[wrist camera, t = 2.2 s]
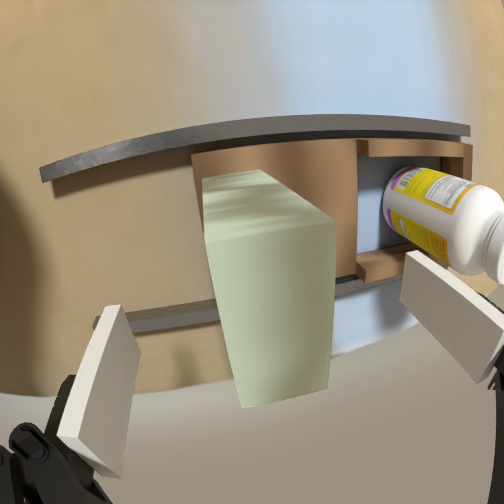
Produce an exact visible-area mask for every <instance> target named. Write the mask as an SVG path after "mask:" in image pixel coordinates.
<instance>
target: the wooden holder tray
mask: <svg viewBox="0 0 504 504" xmlns="http://www.w3.org/2000/svg"><path fill="white" fill-rule="evenodd" d="M472 151H473V145H470V144H465V143H460V142H454V141H446V140H432V139H413V138H335V139H314V140H299V141H287V142H276V143H266V144H256V145H248V146H240V147H232V148H225V149H218V150H212V151H205V152H199V153H193V154H191V159H192V166H193V172H194V179H195V185H196V191H197V197H198V203H199V209H200V215H201V220H202V226H203V231H204V238H205V247H206V252H207V257H208V262H209V267H210V272H211V277H212V282H213V287H214V292H215V297H216V302H217V306H218V311H219V316H220V320H221V325H222V329H223V334H224V338H225V343H226V347H227V351H228V355H229V360H230V364H231V368H232V372H233V376H234V380H235V384H236V388H237V392H238V396H239V400H240V404H241V408H248V407H253V406H258V405H263V404H267V403H272V402H277V401H281V400H286V399H290V398H294V397H298V396H302V395H305V394H309V393H313V392H317V391H320V390H324V389H327V384H328V376H329V367H330V356H331V345H332V332H333V317H334V299H335V278H337V277H342V276H346V275H351V274H356V275H357V276H358V277H359V278H360V279H361V280H362V281H363V282H364V283H369V282H373V281H377V280H380V279H384V278H388V277H392V276H396V275H399V274H403V271H404V264H405V256H406V253H407V252H412V251H416V250H418V251H419V252H421V253H422V254H424V255H425V256H427V257H428V258H429V259H431V260H432V261H434V262H435V263H437V264H438V263H442V261H441V260H439V259H438V258H436V257H435V256H433V255H432V254H430V253H429V252H427V251H425V250H424V249H422V248H421V247H419V246H418V245H416V244H414V243H413V242H412V243H408V244H403V245H398V246H393V247H389V248H384V249H379V250H374V251H370V252H365V253H360V254H356V250H357V218H358V183H357V155H362V156H366V157H387V156H442V173H446V174H449V175H452V176H456V177H459V178H462V179H465V180H468V181H471V178H472Z"/></svg>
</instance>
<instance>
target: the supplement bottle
mask: <svg viewBox="0 0 504 504" xmlns="http://www.w3.org/2000/svg"><path fill="white" fill-rule="evenodd" d="M383 213H384V216H385V219H386V221H387V223H388V225H389V226H390V227H391V228H392V229H393V230H394V231H395V232H397V233H398V234H400V235H401V236H403V237H405V238H406V239H408V240H410V241H411V242H413V243H414V244H416V245H418V246H419V247H421V248H422V249H424V250H425V251H427V252H429V253H430V254H432V255H433V256H435V257H436V258H438V259H439V260H441V261H442V262H444V263H445V264H447V265H448V266H450V267H451V268H453V269H454V270H455V271H457V272H459V273H460V274H462V275H465V276H473V275H477V274H480V273H482V272H483V271H485V272H486V273H487V275H488V276H489V277H490V278H491V279H493V280H494V281H496V282H497V283H499V284H501V285H503V284H504V203H503V201H502V199H501V197H500V196H499V195H498V194H497V193H496V192H495V191H494V190H492V189H490V188H488V187H486V186H483V185H480V184H477V183H474V182H471V181H468V180H465V179H462V178H459V177H456V176H452V175H449V174H446V173H442V172H439V171H435V170H431V169H428V168H424V167H420V166H406V167H403V168H401V169H400V170H398V171H397V172H396V173H395V174H394V175H393V176H392V177H391V178H390V180H389V182H388V184H387V186H386V188H385V191H384V196H383Z"/></svg>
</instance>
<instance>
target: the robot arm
mask: <svg viewBox="0 0 504 504" xmlns="http://www.w3.org/2000/svg"><path fill="white" fill-rule="evenodd" d="M399 301H400V302H401V303H402V304H403V305H404V306H405V307H406V308H407V309H408V310H409V311H410V312H411V313H412V314H413V315H414V316H415V317H416V318H417V319H418V320H419V321H420V322H421V323H422V324H423V326H424V327H425V328H426V329H427V330H428V331H429V332H430V333H431V334H432V335H433V336H434V337H435V338H436V339H437V340H438V341H439V342H440V343H441V344H442V346H443V347H445V349H446V350H447V351H448V352H449V353H450V354H451V355H452V356H453V357H454V359H455V360H456V361H457V362H458V363H459V364H460V365H461V366H462V368H463V369H464V370H465V371H466V372H467V373H468V374H469V375H470V377H471V378H472V379H473V380H474V381H475V383H476V384H478V383H480V382H481V381H483V380H484V379H486V378H487V377H488V376H489V374H490V372H491V371H492V369H493V367H494V366H495V367H496V368H497V371H496V373H495V375H494V377H493V378H492V380H491V382H490V383H489V385H488V389H490V388H491V386H492V385H493V383H494V382H495V386H494V387H493V390H496V442H495V443H496V444H495V456H494V467H493V474H492V481H491V487H490V493H489V498H488V503H487V504H504V311H502V310H501V309H500V308H499V307H496V305H495V304H494V303H493V302H490V300H489V299H488V298H486V297H485V296H484V295H482V294H480V293H478V292H476V291H474V290H472V289H471V288H470V287H468V286H467V285H466V284H464V283H463V282H462V281H460V280H459V279H458V278H456V277H455V276H454V275H452V274H451V273H449V272H448V271H447V270H445V269H444V268H442V267H441V266H440V265H438V264H437V263H435V262H434V261H432V260H431V259H429V258H428V257H427V256H425V255H424V254H422V253H421V252H419V251H418V250H416V251H412V252H407V253H406V256H405V264H404V271H403V278H402V285H401V291H400V297H399ZM140 355H141V351H140V349H139V347H138V344H137V342H136V340H135V337H134V335H133V333H132V330H131V328H130V326H129V323H128V321H127V318H126V316H125V313H124V311H123V308H122V306H121V304H119V305H112V306H106V307H105V309H104V311H103V313H102V315H101V317H100V320H99V322H98V324H97V326H96V329H95V331H94V333H93V336H92V338H91V340H90V343H89V345H88V347H87V350H86V352H85V355H84V357H83V360H82V362H81V365H80V367H79V370H78V373H77V375H69V376H68V377H67V378H66V380H65V381H64V382H63V383H62V384H61V387H60V389H59V392H58V395H57V396H58V397H56V400H55V403H54V406H53V408H52V411H51V414H50V417H49V420H48V423H47V426H46V429H45V432H44V434H43V433H42V432H41V430H40V429H39V428H38V427H37V426H36V425H34V424H32V423H26V422H25V423H22V424H19V425H18V426H17V427H16V428H14V430H13V431H12V433H11V434H10V438H9V448H10V449H11V450H12V451H14V452H15V453H10V452H9V451H8V450H7V449H6V448H5V447H3V446H1V445H0V504H113V503H112V502H111V501H110V499H109V498H108V496H107V495H106V494H105V493H104V491H103V490H102V488H101V487H100V485H99V484H98V482H97V481H96V480H95V479H94V478H93V474H94V470H95V471H96V472H97V473H99V474H100V475H101V476H103V477H110V478H121V479H122V474H123V462H124V454H125V446H126V437H127V430H128V423H129V416H130V410H131V403H132V397H133V391H134V386H135V380H136V375H137V370H138V365H139V360H140ZM24 498H25V502H24Z"/></svg>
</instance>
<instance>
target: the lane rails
mask: <svg viewBox="0 0 504 504" xmlns="http://www.w3.org/2000/svg"><path fill="white" fill-rule="evenodd" d="M325 130H395V131H415V132H429V133H441V134H451V135H459V136H467V137H470V125H465V124H459V123H452V122H445V121H438V120H430V119H421V118H411V117H399V116H384V115H360V114H317V115H292V116H276V117H264V118H253V119H243V120H235V121H227V122H219V123H212V124H205V125H199V126H193V127H187V128H182V129H176V130H171V131H166V132H161V133H156V134H152V135H147V136H143V137H138V138H134V139H130V140H126V141H122V142H118V143H115V144H111V145H107V146H104V147H100V148H97V149H93V150H90V151H87V152H84V153H80V154H77V155H74V156H71V157H68V158H65V159H62V160H59V161H56V162H54V163H51V164H48V165H45V166H43V167H40V168H39V169H40V174H41V179H42V183H44V182H47V181H50V180H53V179H56V178H59V177H62V176H65V175H68V174H71V173H74V172H78V171H81V170H84V169H88V168H91V167H95V166H98V165H102V164H106V163H109V162H113V161H117V160H121V159H125V158H129V157H133V156H137V155H142V154H146V153H151V152H155V151H160V150H165V149H170V148H175V147H181V146H186V145H192V144H198V143H204V142H210V141H217V140H224V139H231V138H239V137H247V136H256V135H266V134H277V133H289V132H304V131H325ZM438 265H440V266H441V267H444V266H447V264H445V263H444V262H442V263H438ZM402 278H403V274H399V275H396V276H392V277H388V278H384V279H380V280H377V281H373V282H369V283H364V282H363V281H362V280H361V279H360V278H359V277H358V276H357V275H356V274H351V275H346V276H342V277H337V278H335V296H339V295H343V294H347V293H351V292H355V291H359V290H363V289H367V288H370V287H374V286H378V285H382V284H385V283H389V282H393V281H396V280H400V279H402ZM125 316H126V318H127V321H128V323H129V326H130V328H131V330H132V333H137V332H144V331H152V330H159V329H167V328H173V327H180V326H187V325H193V324H199V323H206V322H212V321H217V320H220V316H219V311H218V306H217V302H216V299H211V300H205V301H199V302H193V303H187V304H181V305H175V306H168V307H162V308H155V309H149V310H142V311H135V312H128V313H125ZM100 317H101V316H98V317H96V319H95V321H94V323H93V326H92V327H93V329H94V331H95V329H96V326H97V324H98V322H99V320H100Z"/></svg>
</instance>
